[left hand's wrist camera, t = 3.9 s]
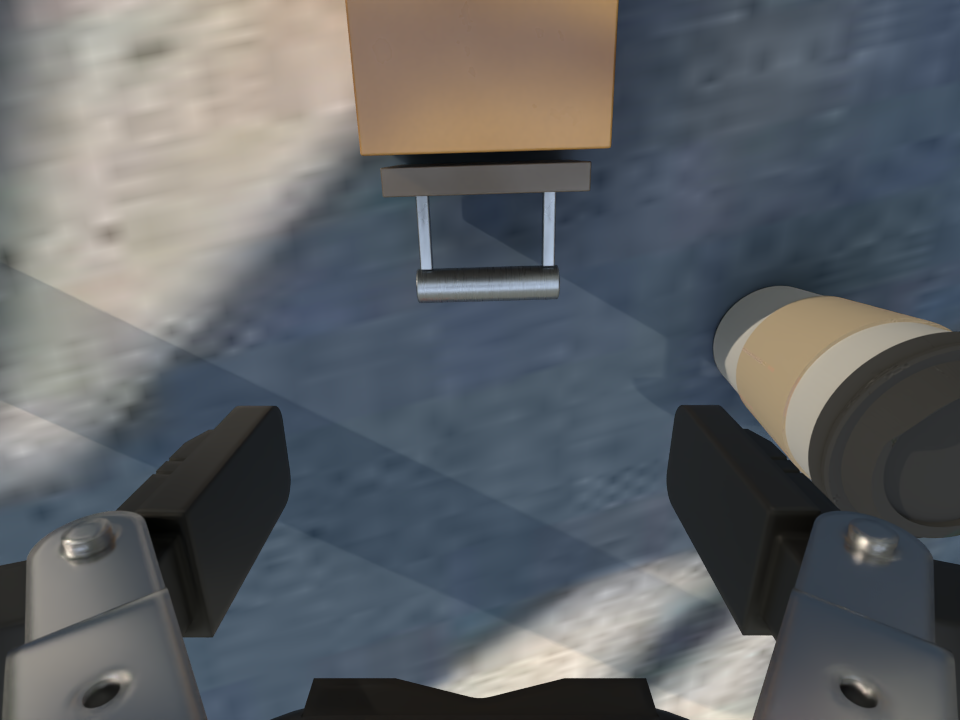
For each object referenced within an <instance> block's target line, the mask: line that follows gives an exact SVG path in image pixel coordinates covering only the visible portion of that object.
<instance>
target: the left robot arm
mask: <svg viewBox="0 0 960 720" xmlns="http://www.w3.org/2000/svg"><path fill="white" fill-rule="evenodd" d="M290 481H291V479H290V468H289V461H288V454H287V447H286V440H285V433H284V426H283V419H282V415H281V412H280V410H279V408H278V407H277V406H237V407H235V408H234V409H233V410H232V411H231V412H230V413H229V414H228V415H227V416H226V417H225V418H224V420H223V421H222V422H221V423H220V424H219V425H218V426H217V427H216V428H215V429H214V430H208V431H206V432H204V433H202V434H200V435H199V436H197V437H195V438H193V439H191V440H189V441H188V442H186V443H184V444H183V445H182V446H181V447H180V448H179V449H178V450H177V451H176V452H175V453H174V454H173V455H172V456H171V457H170V458H169V461H166V462H165V463H164V464H163V465H162V466H161V467H160V468H159V469H158V470H157V471H156V474H153V475H152V476H151V477H150V478H149V479H148V480H147V481H146V482H145V483H144V484H142V485H141V486H140V487H139V488H138V489H137V490H136V491H135V492H134V493H133V494H132V495H131V496H130V497H129V498H128V499H127V500H126V501H125V502H124V503H123V504H122V505H121V506H120V507H119V508H118V509H117V510H116V511H109V512H102V513H97V514H93V515H90V516H86V517H83V518H80V519H77V520H75V521H72V522H70V523H68V524H66V525H64V526H62V527H60V528H58V529H56V530H54V531H53V532H51V533H50V534H48V535H47V536H45V537H44V538H43V539H41V540H40V541H39V542H38V543H37V544H36V545H35V546H34V547H33V549H32V550H31V551H30V553H29V555H28V557H27V560H26V561H21V562H16V563H11V564H6V565H1V566H0V720H207V716H206V713H205V710H204V706H203V703H202V700H201V697H200V693H199V690H198V687H197V683H196V680H195V677H194V674H193V670H192V667H191V664H190V660H189V657H188V654H187V651H186V647H185V644H184V641H183V637H213V636H214V634H215V632H216V631H217V629H218V627H219V625H220V623H221V621H222V620H223V618H224V616H225V614H226V612H227V611H228V609H229V607H230V605H231V603H232V602H233V600H234V598H235V596H236V594H237V593H238V591H239V589H240V587H241V585H242V584H243V582H244V580H245V578H246V576H247V574H248V573H249V571H250V569H251V567H252V565H253V564H254V562H255V560H256V558H257V556H258V555H259V553H260V551H261V549H262V547H263V546H264V544H265V542H266V540H267V538H268V537H269V535H270V533H271V531H272V529H273V528H274V526H275V524H276V522H277V520H278V518H279V517H280V515H281V513H282V511H283V509H284V508H285V506H286V503H287V501H288V497H289V492H290ZM667 490H668V496H669V499H670V502H671V504H672V506H673V508H674V510H675V512H676V514H677V516H678V517H679V519H680V521H681V523H682V525H683V527H684V528H685V530H686V532H687V534H688V536H689V538H690V539H691V541H692V543H693V545H694V547H695V549H696V550H697V552H698V554H699V556H700V558H701V560H702V561H703V563H704V565H705V567H706V569H707V571H708V572H709V574H710V576H711V578H712V580H713V581H714V583H715V585H716V587H717V589H718V591H719V592H720V594H721V596H722V598H723V600H724V602H725V603H726V605H727V607H728V609H729V611H730V613H731V614H732V616H733V618H734V620H735V622H736V624H737V625H738V627H739V629H740V631H741V633H742V635H773V637H774V638H775V640H776V644H775V647H774V651H773V654H772V657H771V660H770V664H769V667H768V670H767V674H766V677H765V680H764V683H763V687H762V690H761V693H760V697H759V700H758V703H757V706H756V710H755V713H754V716H753V720H960V565H958V564H953V563H948V562H943V561H937V560H933V557H932V555H931V553H930V551H929V550H928V549H927V547H926V546H925V545H924V544H923V543H922V542H921V541H920V540H919V539H917V538H916V537H915V536H913V535H912V534H910V533H909V532H907V531H906V530H904V529H902V528H900V527H898V526H896V525H894V524H892V523H890V522H888V521H885V520H883V519H880V518H877V517H874V516H870V515H867V514H863V513H858V512H851V511H841V510H840V509H839V508H838V507H837V506H836V505H835V504H834V503H833V502H832V501H831V500H830V499H829V498H828V497H827V496H826V495H825V494H824V493H823V492H822V491H821V490H820V489H819V488H818V487H816V486H815V485H814V484H813V483H812V482H811V481H810V480H809V479H808V478H807V477H806V476H805V475H804V474H803V473H800V470H799V469H798V468H797V467H796V466H795V465H794V464H793V463H792V462H791V461H790V460H787V457H786V456H785V455H784V454H783V453H782V452H781V451H780V450H779V449H778V448H777V447H776V446H775V445H774V444H773V443H772V442H771V441H769V440H767V439H765V438H763V437H761V436H760V435H758V434H756V433H754V432H752V431H750V430H749V429H742V428H741V426H740V425H739V424H738V423H737V422H736V421H735V420H734V419H733V418H732V417H731V416H730V415H729V414H728V413H727V412H726V411H725V410H724V409H723V408H722V407H721V406H719V405H681V406H679V407H678V409H677V411H676V414H675V418H674V425H673V432H672V440H671V447H670V454H669V461H668V468H667ZM271 720H689V719H687V718H684V717H681V716H678V715H675V714H673V713H670V712H667V711H664V710H660V709H656V708H655V705H654V702H653V699H652V696H651V692H650V689H649V686H648V683H647V680H646V678H564V679H560V680H556V681H552V682H548V683H544V684H540V685H536V686H532V687H528V688H524V689H520V690H516V691H512V692H508V693H504V694H500V695H496V696H492V697H487V698H473V697H468V696H464V695H460V694H456V693H452V692H448V691H444V690H440V689H436V688H432V687H428V686H424V685H420V684H416V683H412V682H408V681H404V680H400V679H396V678H314V680H313V683H312V686H311V689H310V692H309V696H308V699H307V702H306V705H305V708H304V709H300V710H296V711H293V712H290V713H287V714H285V715H282V716H279V717H276V718H273V719H271Z"/></svg>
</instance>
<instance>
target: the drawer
mask: <svg viewBox="0 0 960 720" xmlns="http://www.w3.org/2000/svg"><path fill="white" fill-rule="evenodd" d="M380 170H381V181H382V192H383V197H410V196H416V209H417V224H418V238H419V253H420V268H421V269H418V270H417V276H416V286H417V297H418V301H419V303H441V302H476V301H510V300H544V299H558V297H559V289H560V277H559V269H558V266H557V265H554V264H555V212H556V192H573V191H590V181H591V162H590V161H578V160H536V161H504V162H472V163H440V164H408V165H397V166H391V167H384V168H381V169H380ZM540 192H542V260H541V264H542V266H508V267H475V268H441V269H433V254H432V237H431V220H430V204H429V196H442V195H475V194H507V193H540Z"/></svg>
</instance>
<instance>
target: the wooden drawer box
mask: <svg viewBox="0 0 960 720" xmlns="http://www.w3.org/2000/svg"><path fill="white" fill-rule="evenodd" d="M345 3H346V13H347V23H348V33H349V43H350V53H351V63H352V73H353V83H354V93H355V103H356V113H357V123H358V133H359V143H360V153H361V155H362V156H377V155H410V154H442V153H474V152H506V151H538V150H570V149H574V150H576V149H601V148H610V147H611V138H612V119H613V99H614V80H615V61H616V41H617V22H618V3H619V0H345Z"/></svg>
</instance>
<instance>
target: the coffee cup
mask: <svg viewBox="0 0 960 720" xmlns="http://www.w3.org/2000/svg"><path fill="white" fill-rule="evenodd" d="M713 354H714V359H715V362H716V365H717V367H718V369H719V371H720V372H721V374H722V375H723V376H724V377H725V378H726V380H727V381H728V382H729V383H730V384H731V385H732V387H733V388H734V389H735V390H736V391H737V392H738V394H739V395H740V397H741V399H742V401H743V403H744V404H745V406H746V407H747V408H748V410H749V411H750V412H751V413H752V414H753V415H754V417H755V418H756V419H757V420H758V421H759V423H760V424H761V425H762V426H763V427H764V429H765V430H766V431H767V432H768V433H769V435H770V436H771V437H772V438H773V439H774V441H775V442H776V443H777V444H778V445H779V446H780V448H781V449H782V450H783V451H784V452H785V454H786V455H787V456H788V457H789V458H790V460H791V461H792V462H793V463H794V464H795V466H796V467H797V468H798V469H799V470H800V471H801V472H802V473H803V474H804V475H806V476H807V477H808V478H810V479H811V480H812V483H813V484H814V485H815V486H816V487H818V488H819V489H820V490H821V491H822V492H823V493H824V494H825V495H826V496H827V497H828V498H829V499H830V500H831V501H832V502H833V503H834V504H835V505H836V506H837V507H838V508H839V509H840V510H841V511H851V512H858V513H863V514H867V515H870V516H874V517H877V518H880V519H883V520H885V521H888V522H890V523H892V524H894V525H896V526H898V527H900V528H902V529H904V530H906V531H907V532H909V533H910V534H912V535H913V536H915V537H916V538H923V537H925V538H944V537H952V536H958V535H960V332H952V331H951V330H949V329H947V328H946V327H944V326H941V325H939V324H936V323H934V322H930V321H927V320H923V319H919V318H915V317H912V316H908V315H904V314H900V313H896V312H893V311H889V310H885V309H881V308H878V307H874V306H870V305H866V304H863V303H859V302H855V301H851V300H848V299H844V298H840V297H834V296H823V295H819V294H816V293H812V292H808V291H805V290H801V289H798V288H794V287H789V286H773V287H767V288H763V289H760V290H757V291H755V292H753V293H751V294H749V295H747V296H745V297H744V298H742V299H741V300H740V301H738V302H737V303H736V304H735V305H734V306H733V307H732V308H731V309H730V310H729V311H728V312H727V313H726V315H725V316H724V317H723V319H722V321H721V322H720V324H719V326H718V328H717V331H716V334H715V338H714V344H713Z"/></svg>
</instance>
